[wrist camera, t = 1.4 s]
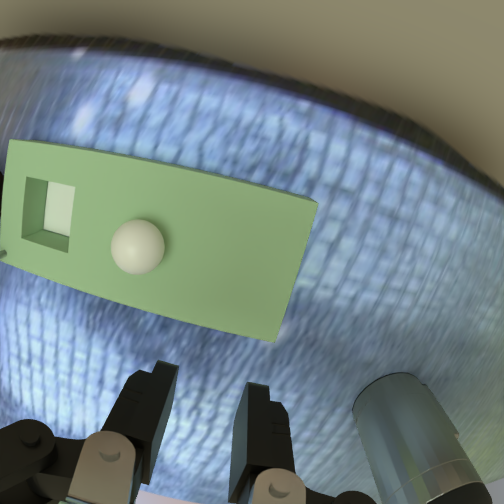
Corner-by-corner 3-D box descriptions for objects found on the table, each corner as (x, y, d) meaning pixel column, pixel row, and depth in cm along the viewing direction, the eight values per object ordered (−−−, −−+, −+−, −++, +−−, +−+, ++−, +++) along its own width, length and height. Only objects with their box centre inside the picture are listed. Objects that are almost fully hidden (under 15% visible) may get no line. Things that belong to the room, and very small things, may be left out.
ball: (174, 221, 24) (160, 232, 20) (165, 270, 25) (151, 289, 21) (127, 210, 24) (105, 219, 20) (120, 258, 25) (99, 274, 21)
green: (309, 197, 27) (318, 203, 23) (272, 321, 30) (274, 342, 26) (33, 140, 26) (9, 139, 22) (22, 250, 29) (0, 260, 25)
